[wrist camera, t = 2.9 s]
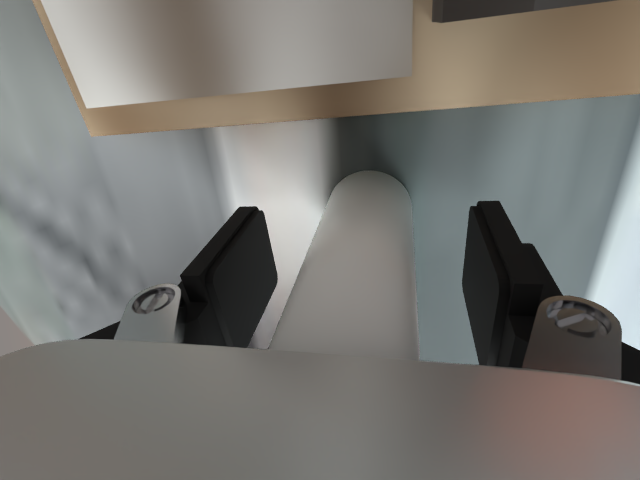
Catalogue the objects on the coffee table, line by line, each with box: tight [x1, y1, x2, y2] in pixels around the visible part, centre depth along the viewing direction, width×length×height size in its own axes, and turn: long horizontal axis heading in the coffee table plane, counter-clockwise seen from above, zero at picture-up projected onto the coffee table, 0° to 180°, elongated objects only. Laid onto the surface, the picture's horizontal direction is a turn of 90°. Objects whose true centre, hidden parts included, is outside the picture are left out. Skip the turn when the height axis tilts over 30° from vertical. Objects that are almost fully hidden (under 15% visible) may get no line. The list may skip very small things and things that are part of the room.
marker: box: [268, 171, 420, 360], centre depth 9 cm, size 3×3×11 cm
